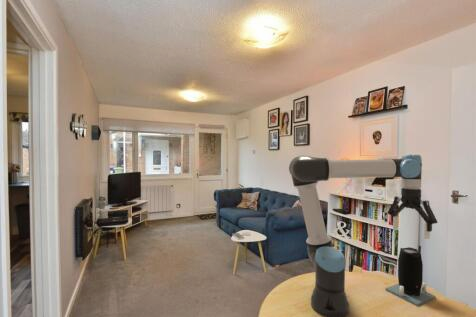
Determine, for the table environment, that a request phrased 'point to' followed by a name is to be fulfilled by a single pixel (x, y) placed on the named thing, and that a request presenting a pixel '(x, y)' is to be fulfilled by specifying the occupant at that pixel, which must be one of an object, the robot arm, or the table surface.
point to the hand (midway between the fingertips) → (410, 234)
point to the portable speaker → (410, 270)
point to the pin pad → (412, 298)
